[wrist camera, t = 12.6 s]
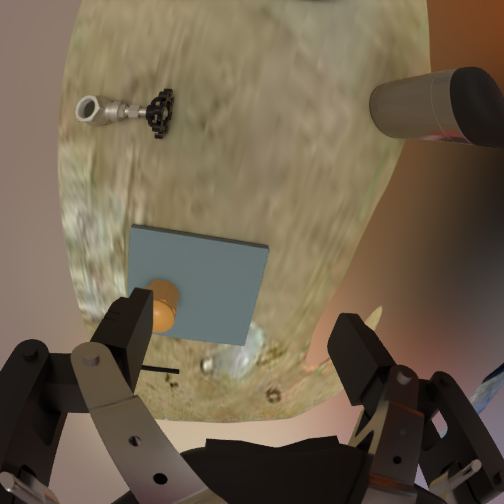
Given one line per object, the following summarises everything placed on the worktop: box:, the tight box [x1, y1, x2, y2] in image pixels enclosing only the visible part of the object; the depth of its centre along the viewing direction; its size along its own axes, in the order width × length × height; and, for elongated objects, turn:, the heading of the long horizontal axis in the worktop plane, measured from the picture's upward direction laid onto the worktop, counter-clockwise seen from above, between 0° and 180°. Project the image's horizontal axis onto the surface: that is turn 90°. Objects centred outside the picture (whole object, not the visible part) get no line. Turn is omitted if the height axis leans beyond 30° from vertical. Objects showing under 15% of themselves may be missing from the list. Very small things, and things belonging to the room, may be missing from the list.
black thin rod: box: [141, 365, 179, 374], centre depth 47 cm, size 12×1×1 cm, turn 82°
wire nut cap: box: [145, 279, 179, 333], centre depth 37 cm, size 5×5×6 cm
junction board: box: [128, 224, 269, 346], centre depth 41 cm, size 20×18×2 cm
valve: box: [75, 89, 174, 139], centre depth 28 cm, size 7×7×12 cm
